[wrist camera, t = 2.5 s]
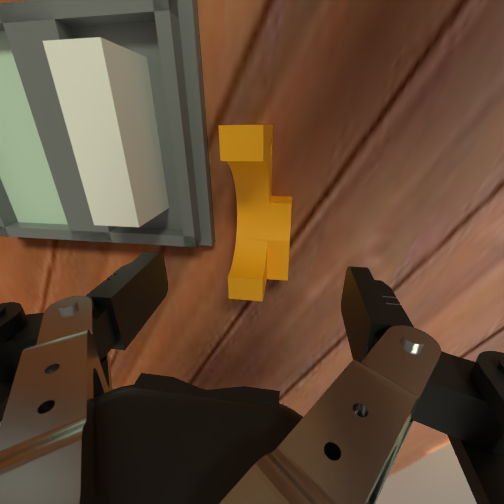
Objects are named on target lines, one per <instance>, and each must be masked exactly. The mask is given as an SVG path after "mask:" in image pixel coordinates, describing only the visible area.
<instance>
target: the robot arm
mask: <svg viewBox="0 0 504 504" xmlns="http://www.w3.org/2000/svg"><path fill="white" fill-rule="evenodd" d="M167 291H168V280H167V274H166V267H165V261H164V257H163V255H162V254H161V253H147V252H144V253H142V254H141V255H140V256H139V257H138V258H136V259H135V260H134V261H133V262H131V263H129V264H127V265H125V266H123V267H121V268H119V269H118V270H117V271H116V272H115V273H113V275H111V276H110V277H108V278H107V280H105V281H103V282H102V283H101V284H100V285H99V286H97V287H96V288H95V289H94V290H92V291H91V292H90V293H89V294H87V295H86V296H72V297H68V298H65V299H62V300H59V301H57V302H55V303H54V304H52V305H51V306H49V307H48V308H47V309H46V310H45V312H44V313H37V314H28V315H25V313H24V310H23V308H22V306H21V304H19V303H15V302H9V303H2V304H0V422H1V421H2V422H1V426H0V504H375V503H376V501H377V499H378V496H379V494H380V492H381V490H382V488H383V485H384V483H385V481H386V479H387V476H388V474H389V472H390V470H391V467H392V465H393V463H394V461H395V459H396V457H397V455H398V453H399V451H400V449H401V446H402V444H403V442H404V440H405V438H406V436H407V434H408V432H409V430H410V427H411V425H412V423H413V421H416V422H419V423H421V424H424V425H426V426H428V427H431V428H433V429H436V430H438V431H440V432H443V433H445V434H447V435H448V437H449V440H450V442H451V444H452V446H453V449H454V451H455V454H456V456H457V458H458V460H459V463H460V465H461V467H462V470H463V472H464V474H465V477H466V479H467V481H468V484H469V486H470V488H471V491H472V493H473V495H474V498H475V500H476V502H477V504H504V353H501V352H496V351H486V352H482V353H480V354H479V356H478V358H477V360H476V362H473V361H470V360H467V359H463V358H460V357H457V356H453V355H450V354H447V353H445V352H442V351H441V348H440V346H439V344H438V343H437V341H436V340H435V339H434V338H432V337H431V336H430V335H428V334H427V333H425V332H423V331H421V330H419V329H417V328H414V326H413V325H412V323H411V321H410V320H409V318H408V316H407V315H406V313H405V311H404V309H403V308H402V306H401V305H400V303H399V301H398V299H397V298H396V296H395V294H394V292H393V291H392V289H391V288H390V287H389V286H388V285H386V284H385V283H384V282H382V281H380V280H374V278H373V276H372V275H371V273H370V271H369V269H368V268H365V267H350V266H349V267H348V268H347V271H346V276H345V282H344V288H343V293H342V300H341V312H342V316H343V320H344V325H345V329H346V333H347V337H348V341H349V345H350V349H351V353H352V357H353V361H352V362H351V363H350V364H349V365H348V366H347V367H346V368H345V369H344V371H343V372H342V373H341V374H340V375H339V376H338V377H337V379H336V380H335V381H334V382H333V383H332V384H331V386H330V387H329V388H328V389H327V390H326V391H325V393H324V394H323V395H322V396H321V397H320V398H319V400H318V401H317V402H316V403H315V404H314V405H313V407H312V408H311V409H310V410H309V411H308V412H307V414H306V415H305V416H304V417H302V416H301V415H300V414H298V413H297V412H295V411H294V410H292V409H290V408H288V407H287V406H284V405H282V404H280V403H279V393H280V391H275V390H267V389H260V388H252V387H244V386H243V387H233V388H223V389H214V390H203V389H201V388H198V387H196V386H193V385H191V384H189V383H186V382H184V381H181V380H179V379H176V378H174V377H168V376H160V375H152V374H145V373H141V374H140V376H139V378H138V379H137V381H136V382H135V384H134V385H129V386H124V387H120V388H117V389H114V390H112V379H111V368H110V359H109V355H108V352H109V351H110V350H111V349H119V350H125V349H126V348H127V347H128V345H129V344H130V343H131V341H132V340H133V339H134V338H135V336H136V335H137V334H138V332H139V331H140V330H141V328H142V327H143V326H144V324H145V323H146V322H147V320H148V319H149V318H150V316H151V315H152V314H153V313H154V311H155V310H156V309H157V307H158V306H159V305H160V303H161V302H162V301H163V299H164V298H165V297H166V294H167Z"/></svg>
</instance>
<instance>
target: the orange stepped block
mask: <svg viewBox="0 0 504 504" xmlns="http://www.w3.org/2000/svg"><path fill="white" fill-rule="evenodd" d="M219 142H220V159H221V161H225V162H227V164H228V165H229V167H230V169H231V172H232V175H233V179H234V184H235V190H236V200H237V234H236V244H235V251H234V257H233V262H232V266H231V269H230V272H229V275H228V291H229V299H240V300H251V301H263V296H264V291H265V286H266V282H267V279H272V280H286V281H288V267H289V249H290V230H291V211H292V196H272V151H273V124H268V125H220V126H219Z"/></svg>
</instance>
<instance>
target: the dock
mask: <svg viewBox="0 0 504 504" xmlns="http://www.w3.org/2000/svg"><path fill="white" fill-rule="evenodd" d="M0 236H7V237H25V238H42V239H60V240H77V241H95V242H113V243H130V244H148V245H165V246H183V247H196V246H197V245H202V246H213V244H214V243H215V233H214V220H213V207H212V193H211V180H210V167H209V154H208V141H207V128H206V115H205V102H204V88H203V75H202V62H201V49H200V36H199V23H198V10H197V0H35V1H24V2H13V3H1V4H0Z"/></svg>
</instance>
